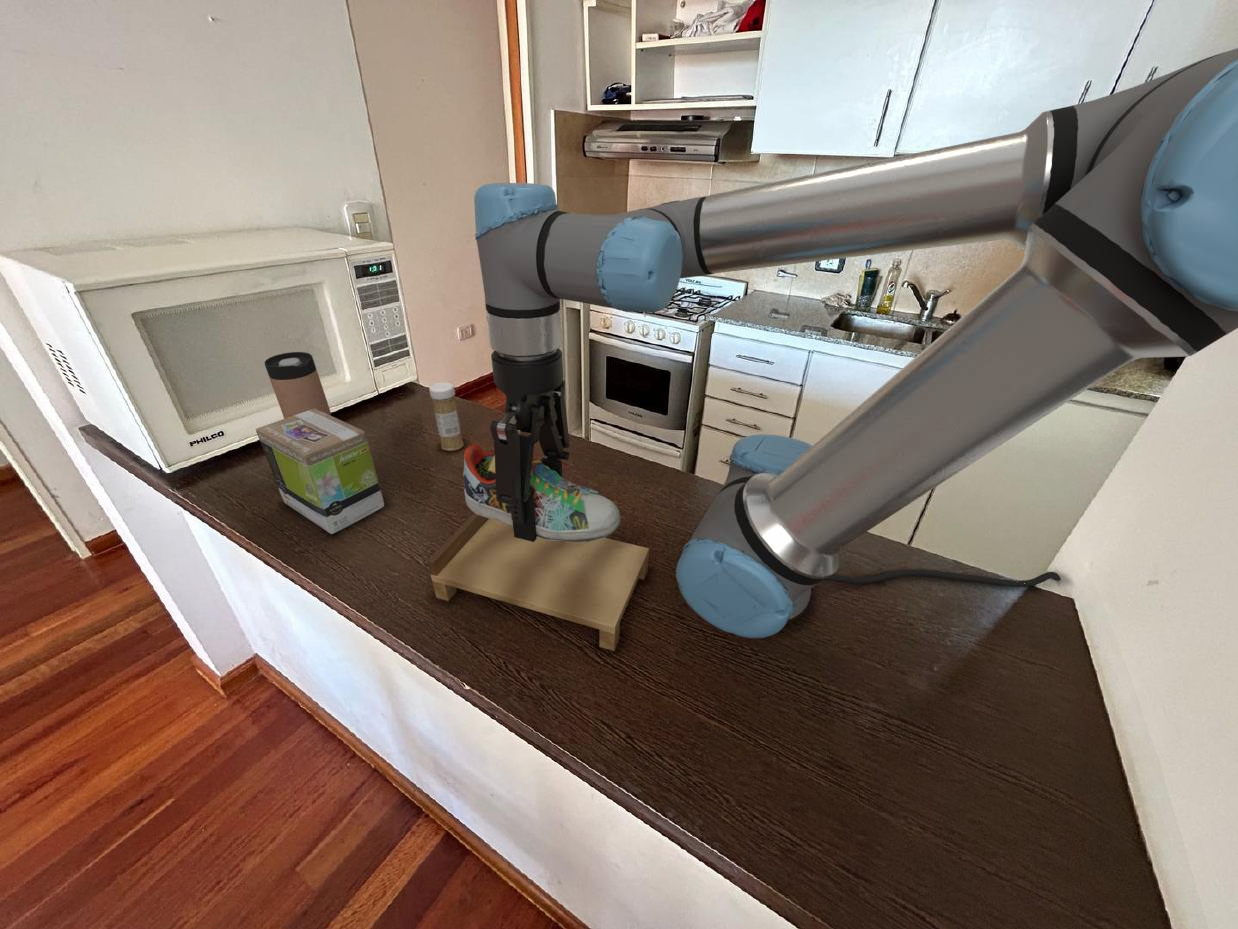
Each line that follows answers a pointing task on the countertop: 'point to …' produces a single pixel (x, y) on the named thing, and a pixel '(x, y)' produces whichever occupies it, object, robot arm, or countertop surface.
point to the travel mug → (296, 383)
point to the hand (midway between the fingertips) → (540, 518)
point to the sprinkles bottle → (446, 415)
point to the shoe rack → (542, 573)
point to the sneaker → (541, 501)
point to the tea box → (322, 468)
